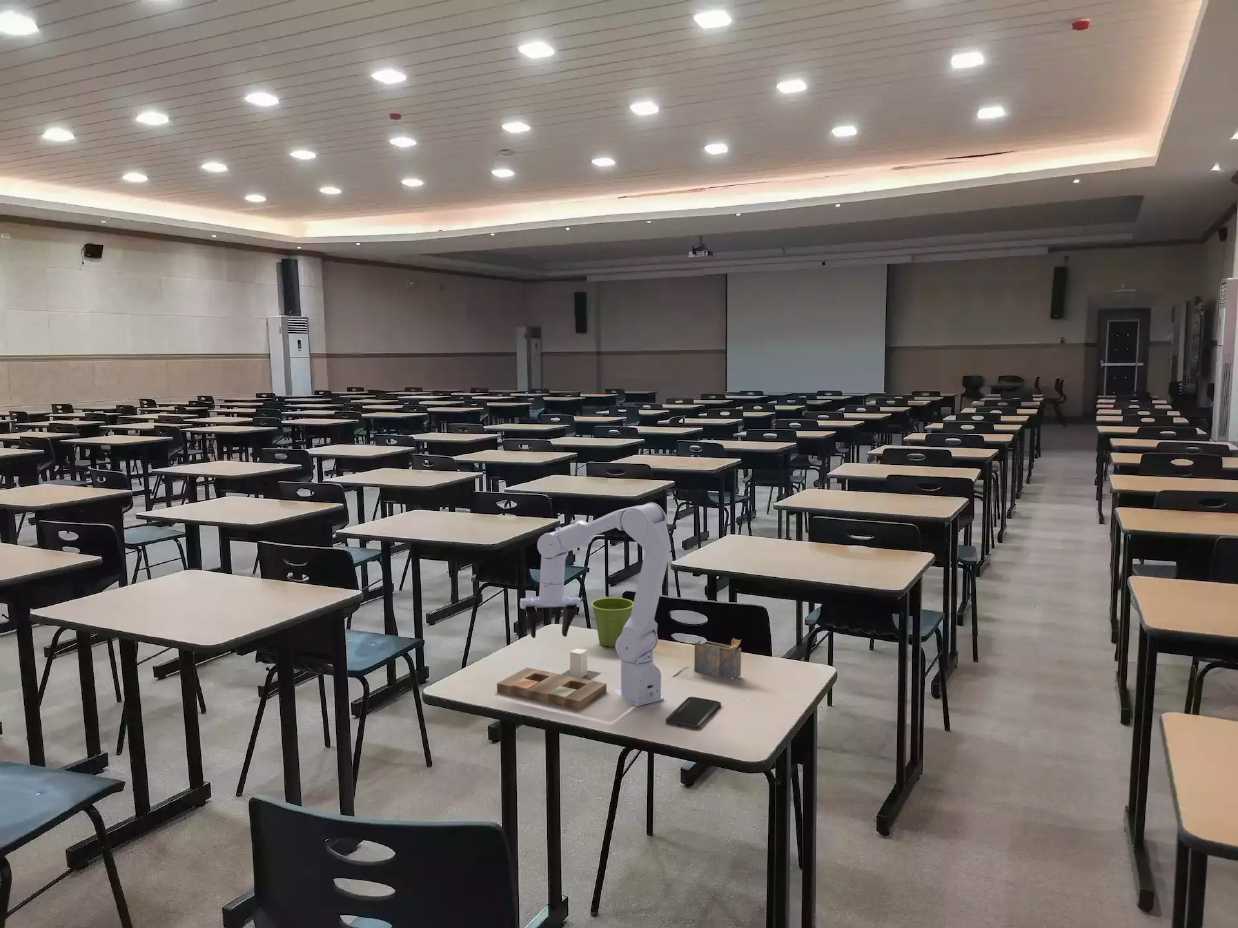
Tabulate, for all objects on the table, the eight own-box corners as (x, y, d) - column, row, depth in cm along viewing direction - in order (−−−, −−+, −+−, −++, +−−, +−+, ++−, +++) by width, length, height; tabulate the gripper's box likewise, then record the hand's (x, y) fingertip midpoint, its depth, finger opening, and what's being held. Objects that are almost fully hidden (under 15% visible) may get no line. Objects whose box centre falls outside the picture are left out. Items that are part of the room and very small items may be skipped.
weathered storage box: (741, 677, 205) (742, 639, 204) (735, 681, 202) (736, 642, 201) (700, 668, 211) (700, 631, 210) (694, 672, 208) (694, 634, 208)
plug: (587, 674, 204) (587, 650, 203) (580, 678, 201) (580, 653, 200) (576, 672, 205) (576, 648, 204) (570, 675, 202) (570, 651, 202)
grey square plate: (601, 675, 205) (601, 672, 205) (584, 685, 198) (584, 683, 198) (573, 669, 208) (573, 667, 208) (555, 679, 201) (555, 677, 201)
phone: (722, 701, 187) (699, 726, 173) (722, 706, 187) (698, 732, 173) (689, 695, 190) (663, 719, 176) (689, 700, 190) (663, 725, 177)
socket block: (606, 693, 193) (606, 682, 192) (579, 712, 182) (579, 700, 182) (526, 677, 203) (526, 666, 203) (497, 693, 192) (496, 682, 192)
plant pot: (581, 643, 229) (581, 603, 227) (611, 634, 237) (611, 595, 236) (613, 653, 221) (614, 611, 220) (643, 643, 230) (643, 603, 228)
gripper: (577, 575, 207) (573, 628, 208) (518, 576, 202) (515, 631, 204) (584, 584, 200) (581, 638, 202) (524, 585, 195) (521, 641, 197)
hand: (548, 635), depth 202 cm, fingers open, 7 cm apart
